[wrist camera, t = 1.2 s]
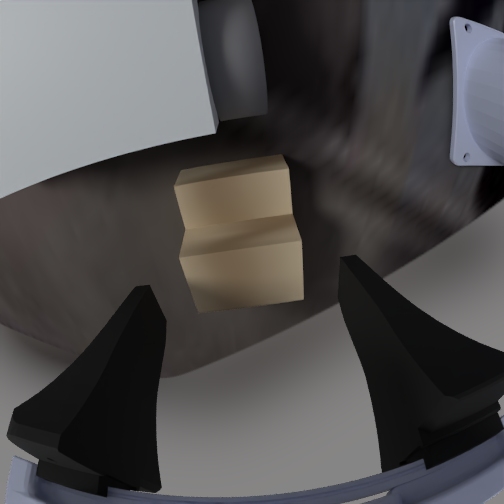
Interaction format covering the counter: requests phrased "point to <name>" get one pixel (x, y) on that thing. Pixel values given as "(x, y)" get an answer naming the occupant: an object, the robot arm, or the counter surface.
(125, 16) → the trolley
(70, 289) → the counter surface
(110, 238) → the counter surface
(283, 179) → the block
